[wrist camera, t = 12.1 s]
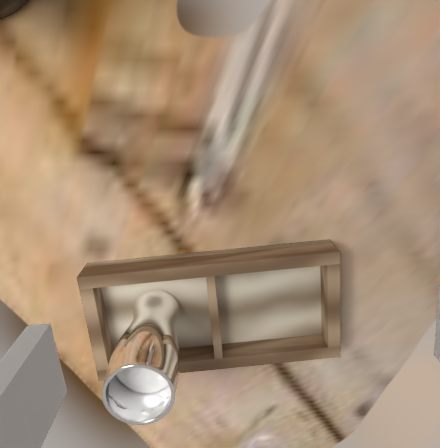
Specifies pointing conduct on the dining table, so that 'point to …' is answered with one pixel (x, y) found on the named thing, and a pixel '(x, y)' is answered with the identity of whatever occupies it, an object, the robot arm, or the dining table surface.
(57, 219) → the dining table surface
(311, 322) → the tray
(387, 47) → the dining table surface
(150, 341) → the metal cup
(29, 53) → the dining table surface
